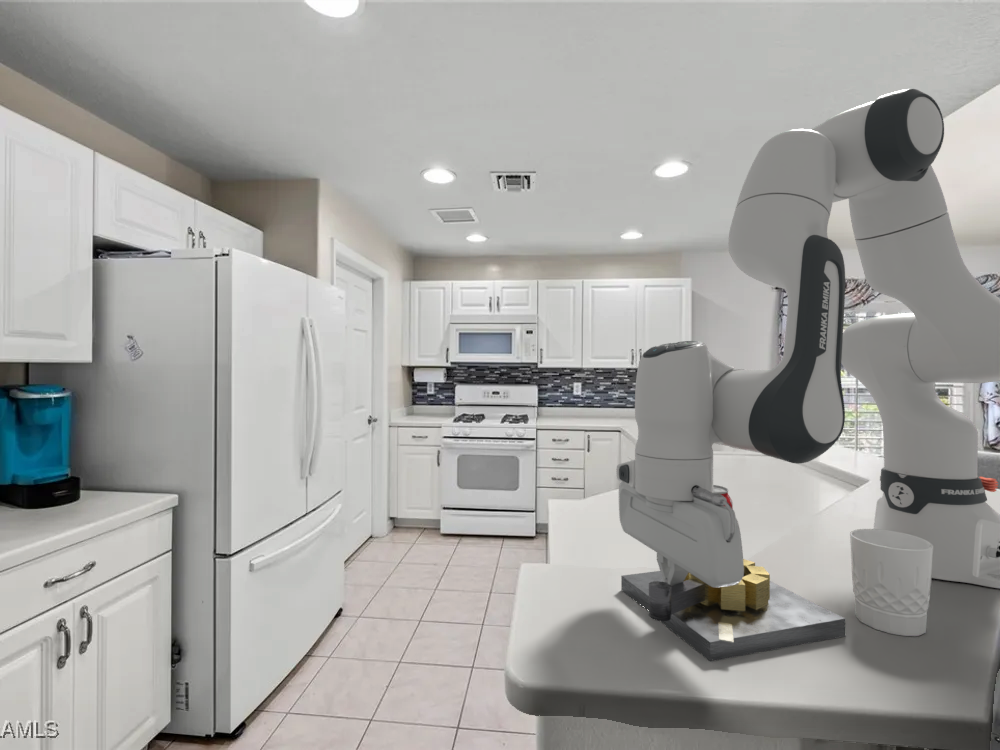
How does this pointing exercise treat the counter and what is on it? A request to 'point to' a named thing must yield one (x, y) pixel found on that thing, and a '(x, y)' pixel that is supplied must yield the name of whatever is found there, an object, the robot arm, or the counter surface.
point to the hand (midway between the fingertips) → (673, 593)
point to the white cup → (891, 580)
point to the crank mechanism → (743, 622)
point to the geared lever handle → (710, 593)
